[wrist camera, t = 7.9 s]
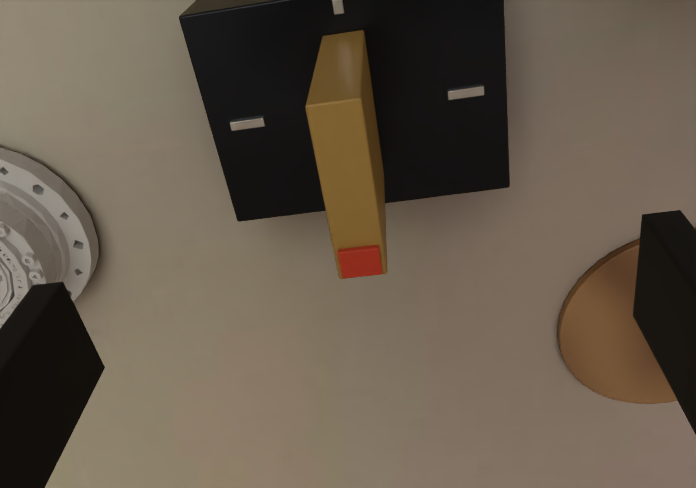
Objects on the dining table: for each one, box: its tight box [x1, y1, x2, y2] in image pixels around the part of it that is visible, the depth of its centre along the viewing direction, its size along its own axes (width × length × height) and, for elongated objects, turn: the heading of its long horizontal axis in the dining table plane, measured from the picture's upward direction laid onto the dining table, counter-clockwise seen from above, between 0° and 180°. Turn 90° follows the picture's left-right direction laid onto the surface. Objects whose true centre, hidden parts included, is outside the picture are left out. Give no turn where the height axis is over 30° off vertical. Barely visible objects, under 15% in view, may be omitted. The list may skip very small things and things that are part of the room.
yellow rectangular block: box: [305, 30, 387, 279], centre depth 23 cm, size 6×2×8 cm, turn 9°
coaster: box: [557, 228, 696, 404], centre depth 36 cm, size 12×12×1 cm
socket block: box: [179, 0, 510, 221], centre depth 28 cm, size 12×10×4 cm
